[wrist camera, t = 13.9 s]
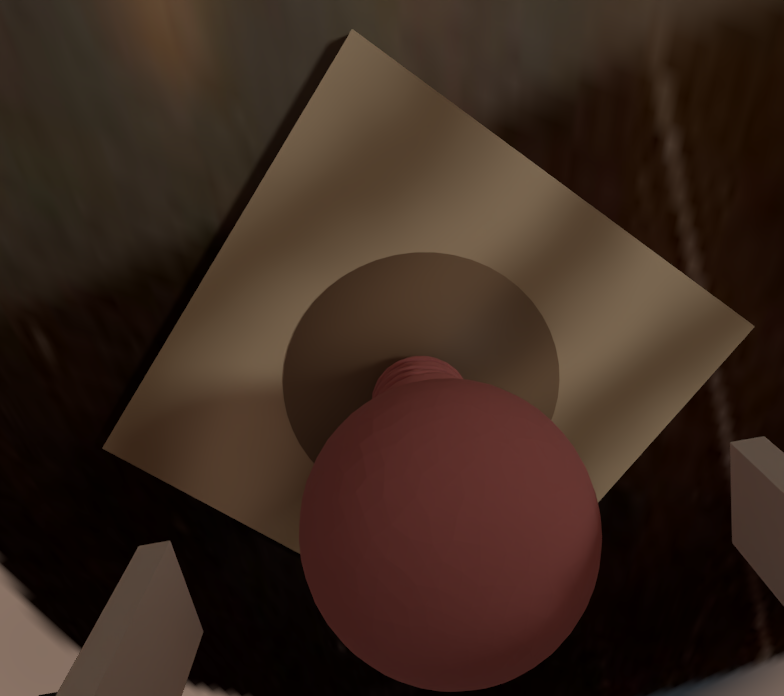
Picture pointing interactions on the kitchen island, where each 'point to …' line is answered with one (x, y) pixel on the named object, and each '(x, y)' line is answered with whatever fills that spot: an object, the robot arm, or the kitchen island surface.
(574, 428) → the seat board
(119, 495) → the kitchen island surface
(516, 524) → the dark red bulb shape
